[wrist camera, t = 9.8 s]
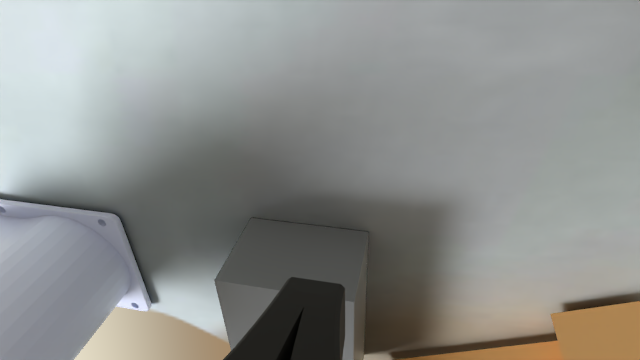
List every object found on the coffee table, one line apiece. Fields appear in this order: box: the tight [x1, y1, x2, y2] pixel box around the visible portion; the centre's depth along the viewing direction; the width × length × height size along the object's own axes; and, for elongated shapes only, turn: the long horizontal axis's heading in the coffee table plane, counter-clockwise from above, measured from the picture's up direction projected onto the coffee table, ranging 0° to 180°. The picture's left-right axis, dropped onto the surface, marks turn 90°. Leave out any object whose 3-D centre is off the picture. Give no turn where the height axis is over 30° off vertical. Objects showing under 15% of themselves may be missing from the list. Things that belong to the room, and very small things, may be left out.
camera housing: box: [214, 218, 369, 360], centre depth 22 cm, size 6×10×6 cm, turn 2°
